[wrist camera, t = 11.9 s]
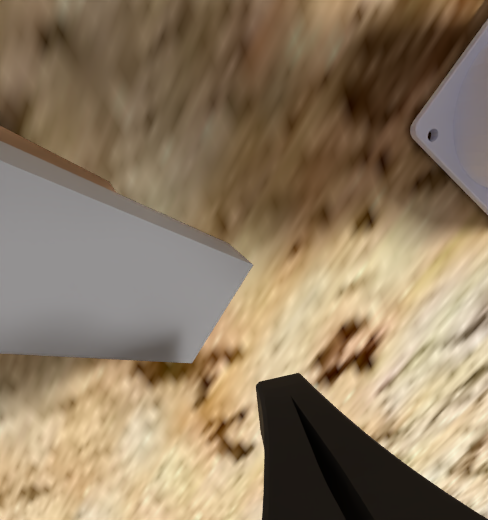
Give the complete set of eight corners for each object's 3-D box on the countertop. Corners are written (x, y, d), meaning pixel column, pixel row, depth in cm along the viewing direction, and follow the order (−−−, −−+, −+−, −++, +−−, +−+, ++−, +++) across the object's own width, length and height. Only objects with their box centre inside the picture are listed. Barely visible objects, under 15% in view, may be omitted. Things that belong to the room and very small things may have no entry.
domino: (253, 265, 12) (-60, 135, 6) (191, 363, 12) (-140, 346, 6) (228, 243, 13) (-42, 121, 7) (174, 332, 14) (-109, 295, 8)
